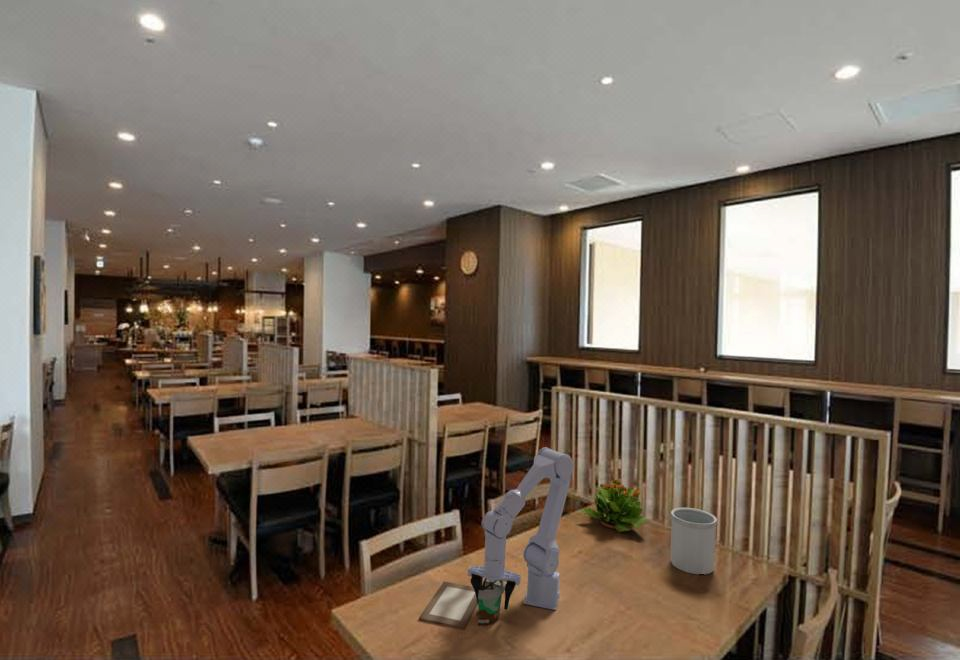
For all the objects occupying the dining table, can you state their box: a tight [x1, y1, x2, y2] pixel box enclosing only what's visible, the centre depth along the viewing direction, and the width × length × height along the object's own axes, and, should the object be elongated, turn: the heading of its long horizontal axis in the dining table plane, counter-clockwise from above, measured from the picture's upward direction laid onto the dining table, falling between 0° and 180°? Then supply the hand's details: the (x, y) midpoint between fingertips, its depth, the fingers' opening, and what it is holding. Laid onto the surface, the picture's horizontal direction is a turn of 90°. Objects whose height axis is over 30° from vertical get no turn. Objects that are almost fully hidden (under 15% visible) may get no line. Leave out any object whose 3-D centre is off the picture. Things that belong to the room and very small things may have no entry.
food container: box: [477, 578, 505, 627], centre depth 138 cm, size 12×6×10 cm, turn 168°
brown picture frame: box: [418, 581, 478, 631], centre depth 143 cm, size 13×20×1 cm, turn 164°
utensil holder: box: [670, 507, 718, 575], centre depth 174 cm, size 15×15×18 cm
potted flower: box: [580, 478, 647, 533], centre depth 207 cm, size 25×24×18 cm
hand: (492, 604), depth 138 cm, fingers open, 7 cm apart
